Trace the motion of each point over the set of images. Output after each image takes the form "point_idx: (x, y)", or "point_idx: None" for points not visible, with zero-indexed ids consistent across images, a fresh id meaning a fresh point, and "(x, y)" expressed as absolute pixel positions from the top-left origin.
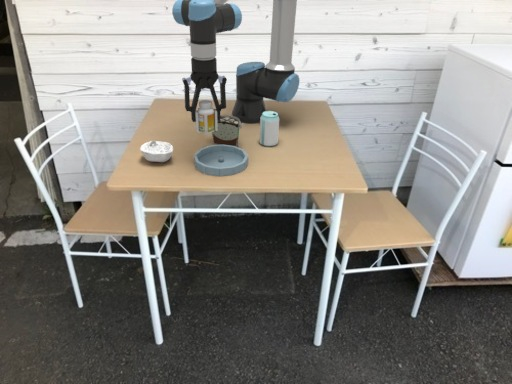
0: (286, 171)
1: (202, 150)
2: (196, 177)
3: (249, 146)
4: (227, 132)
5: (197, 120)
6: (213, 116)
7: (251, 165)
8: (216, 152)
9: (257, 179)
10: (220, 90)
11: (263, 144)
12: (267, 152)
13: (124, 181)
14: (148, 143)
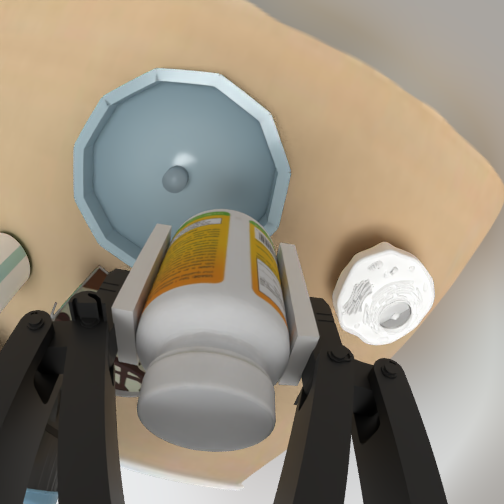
0: (7, 61)
1: None
2: (309, 104)
3: (60, 258)
4: None
5: (297, 291)
6: (158, 283)
7: (82, 123)
8: None
9: (102, 20)
10: (19, 482)
11: (21, 247)
12: (19, 201)
13: (488, 192)
14: (410, 321)
